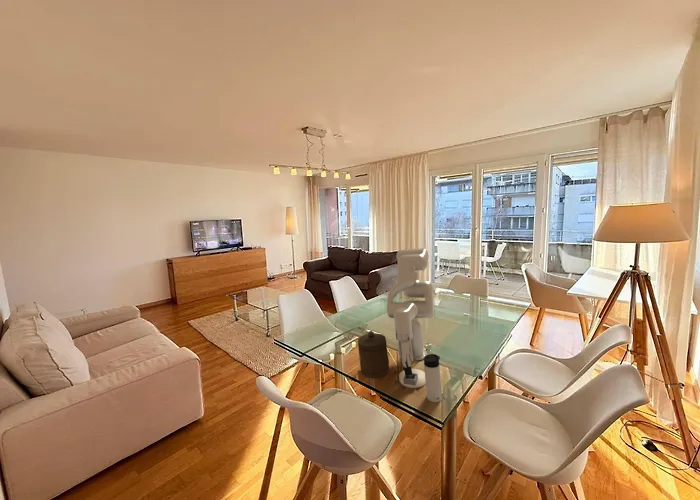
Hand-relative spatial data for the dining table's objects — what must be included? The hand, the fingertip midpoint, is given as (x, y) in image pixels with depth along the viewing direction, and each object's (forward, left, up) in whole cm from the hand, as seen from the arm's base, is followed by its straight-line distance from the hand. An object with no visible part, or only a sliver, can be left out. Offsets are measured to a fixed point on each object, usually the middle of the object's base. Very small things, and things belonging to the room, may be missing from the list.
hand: (407, 372), depth 131 cm
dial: (-3, +3, -6) cm, 7 cm away
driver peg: (0, +1, -3) cm, 4 cm away
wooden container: (-15, -14, -8) cm, 22 cm away
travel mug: (+11, +9, -7) cm, 16 cm away
